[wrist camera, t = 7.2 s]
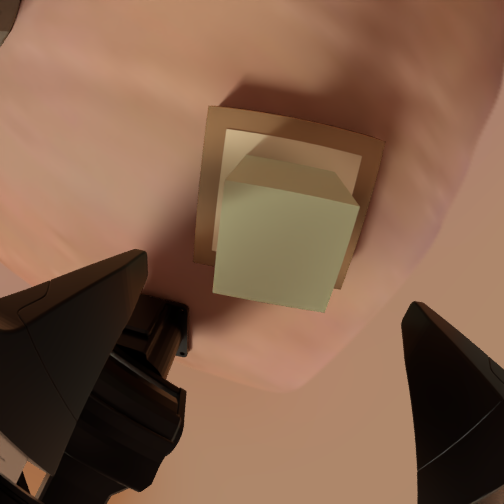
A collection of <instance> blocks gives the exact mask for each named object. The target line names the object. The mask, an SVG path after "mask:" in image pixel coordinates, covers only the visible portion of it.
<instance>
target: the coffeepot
mask: <svg viewBox="0 0 504 504" xmlns="http://www.w3.org/2000/svg"><path fill="white" fill-rule="evenodd" d="M19 4H20V0H0V46H1V45H2V44H3V42H4V40H5V39H6V37H7V35H8V34H9V32H10V30H11V28H12V25H13V23H14V21H15V18H16V15H17V12H18V9H19Z"/></svg>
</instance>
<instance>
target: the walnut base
mask: <svg viewBox="0 0 504 504" xmlns="http://www.w3.org/2000/svg"><path fill="white" fill-rule="evenodd" d="M384 146H385V141H382V140H380V139H377V138H374V137H371V136H368V135H364V134H361V133H357V132H353V131H350V130H346V129H342V128H338V127H334V126H330V125H326V124H322V123H317V122H313V121H308V120H303V119H298V118H293V117H288V116H283V115H277V114H272V113H266V112H259V111H253V110H246V109H238V108H231V107H222V106H209V107H208V114H207V122H206V129H205V137H204V146H203V154H202V163H201V172H200V182H199V192H198V203H197V215H196V227H195V241H194V256H193V262H195V263H200V264H205V265H210V266H215V262H216V252H217V243H218V234H219V225H220V216H221V208H222V199H223V191H224V183H225V179H226V178H227V177H228V176H229V174H230V173H231V172H232V171H233V170H234V168H235V167H236V166H237V165H238V164H239V162H240V161H241V160H242V159H243V158H244V157H245V155H251V156H257V157H263V158H269V159H274V160H280V161H285V162H290V163H295V164H300V165H305V166H310V167H315V168H319V169H324V170H328V171H332V172H335V173H336V174H337V176H338V177H339V178H340V180H341V181H342V182H343V184H344V185H345V187H346V188H347V189H348V191H349V192H350V193H351V195H352V196H353V198H354V199H355V201H356V202H357V203H358V205H359V206H360V208H359V211H358V214H357V218H356V221H355V225H354V228H353V231H352V234H351V238H350V241H349V244H348V247H347V250H346V253H345V256H344V259H343V262H342V265H341V268H340V271H339V274H338V277H337V280H336V283H335V285H334V289H340V290H341V287H342V284H343V281H344V279H345V276H346V273H347V270H348V268H349V265H350V262H351V259H352V256H353V253H354V250H355V247H356V244H357V241H358V238H359V235H360V232H361V229H362V226H363V223H364V219H365V216H366V213H367V209H368V206H369V203H370V199H371V196H372V192H373V189H374V185H375V181H376V178H377V174H378V170H379V166H380V162H381V158H382V154H383V150H384Z"/></svg>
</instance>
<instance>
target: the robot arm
mask: <svg viewBox="0 0 504 504" xmlns="http://www.w3.org/2000/svg"><path fill="white" fill-rule="evenodd" d="M147 276H148V264H147V253H146V252H145V251H143V250H138V249H133V250H130V251H127V252H124V253H122V254H119V255H116V256H113V257H110V258H108V259H105V260H102V261H99V262H97V263H94V264H91V265H89V266H86V267H83V268H81V269H78V270H75V271H73V272H70V273H67V274H65V275H62V276H60V277H57V278H54V279H52V280H51V281H47V282H44V283H42V284H39V285H36V286H34V287H31V288H28V289H26V290H23V291H20V292H17V293H14V294H11V295H8V296H5V297H2V298H0V504H107V502H108V500H109V499H110V497H111V496H112V495H114V494H117V493H119V492H122V491H124V490H126V489H128V488H131V489H133V490H135V491H137V492H141V491H143V490H144V489H146V488H147V487H148V486H150V485H151V484H152V482H153V480H154V478H155V475H156V473H157V471H158V468H159V466H160V464H161V462H162V461H163V459H164V457H165V456H167V455H168V454H170V453H171V452H172V451H173V449H174V448H175V447H176V445H177V443H178V442H179V440H180V437H181V435H182V432H183V427H184V416H185V415H184V414H185V403H186V391H185V390H184V389H182V388H178V387H177V386H175V385H173V384H172V383H170V382H169V381H167V380H166V378H167V375H168V373H169V370H170V368H171V365H172V363H173V360H174V358H175V355H176V356H180V357H186V356H187V354H188V328H189V308H188V306H186V305H185V304H181V303H176V302H172V301H168V300H164V299H160V298H155V297H151V296H147V295H143V294H141V291H142V289H143V287H144V284H145V282H146V280H147ZM181 309H183V310H184V311H183V310H181ZM401 328H402V338H403V348H404V359H405V366H406V372H407V379H408V385H409V391H410V398H411V405H412V414H413V422H414V430H415V431H414V432H415V443H416V458H417V471H418V472H417V486H418V504H504V369H503V368H501V367H500V366H499V365H498V364H497V363H496V362H494V361H493V360H492V359H491V358H490V357H488V355H486V354H485V353H484V352H483V351H482V350H481V349H480V348H478V347H477V346H476V345H475V344H474V343H472V342H471V341H470V340H469V339H468V338H466V337H465V336H464V335H463V334H462V333H461V332H459V331H458V330H457V329H456V328H454V327H453V326H452V325H451V324H449V323H448V322H447V321H446V320H445V319H443V318H442V317H441V316H440V315H438V314H437V313H436V312H435V311H433V310H432V309H431V308H429V307H428V306H427V305H426V304H424V303H422V302H416V301H414V302H412V303H411V304H410V306H409V308H408V310H407V312H406V314H405V316H404V317H403V320H402V323H401ZM27 461H29V462H30V463H32V464H33V465H35V466H36V467H38V468H39V469H41V470H43V471H44V472H46V475H45V477H44V479H43V481H42V484H41V486H40V487H39V490H38V492H37V494H36V496H35V497H34V496H32V495H31V494H30V491H29V489H28V486H27V483H26V480H25V477H24V474H23V471H22V470H23V468H24V466H25V464H26V462H27Z"/></svg>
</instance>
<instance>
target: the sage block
mask: <svg viewBox="0 0 504 504" xmlns="http://www.w3.org/2000/svg"><path fill="white" fill-rule="evenodd" d="M359 208H360V206H359V205H358V203H357V202H356V201H355V199H354V198H353V196H352V195H351V193H350V192H349V191H348V189H347V188H346V187H345V185H344V184H343V182H342V181H341V180H340V178H339V177H338V176H337V174H336V173H335V172H332V171H328V170H324V169H319V168H315V167H310V166H305V165H300V164H295V163H290V162H285V161H280V160H274V159H269V158H263V157H257V156H251V155H245V157H244V158H243V159H242V160H241V161H240V162H239V164H238V165H237V166H236V167H235V168H234V170H233V171H232V172H231V173H230V174H229V176H228V177H227V178H226V179H225V183H224V191H223V199H222V208H221V216H220V225H219V234H218V243H217V252H216V262H215V272H214V282H213V292H212V293H216V294H221V295H227V296H232V297H237V298H242V299H247V300H253V301H258V302H264V303H269V304H275V305H281V306H286V307H292V308H298V309H304V310H310V311H317V312H323V313H325V310H326V307H327V305H328V302H329V299H330V297H331V294H332V291H333V288H334V285H335V283H336V280H337V277H338V274H339V271H340V268H341V265H342V262H343V259H344V256H345V253H346V250H347V247H348V244H349V241H350V238H351V234H352V231H353V228H354V225H355V221H356V218H357V214H358V211H359Z"/></svg>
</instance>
